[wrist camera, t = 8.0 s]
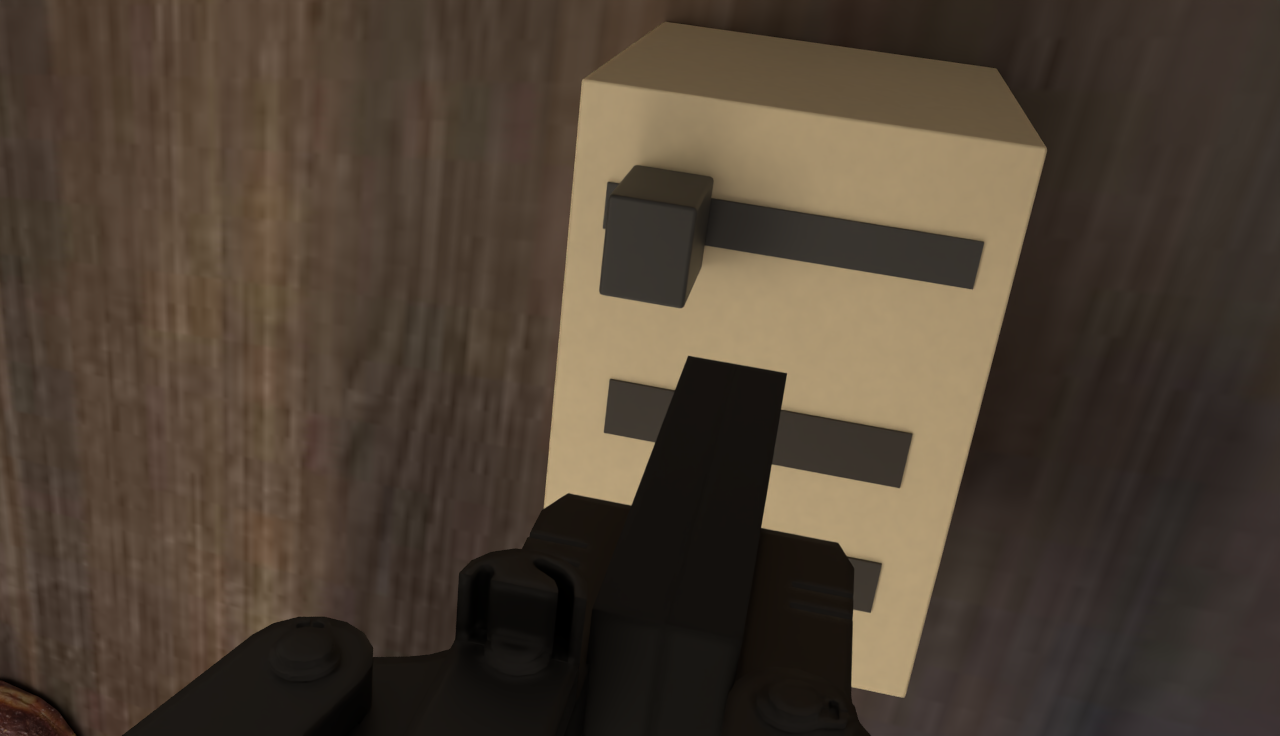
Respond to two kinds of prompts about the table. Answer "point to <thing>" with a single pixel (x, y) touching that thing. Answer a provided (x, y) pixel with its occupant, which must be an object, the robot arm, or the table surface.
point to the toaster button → (655, 235)
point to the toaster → (807, 288)
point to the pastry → (28, 715)
